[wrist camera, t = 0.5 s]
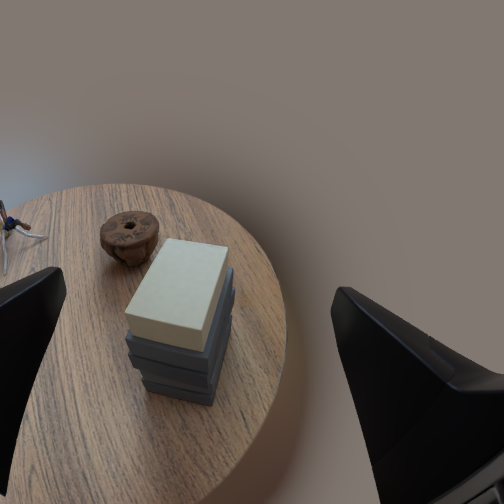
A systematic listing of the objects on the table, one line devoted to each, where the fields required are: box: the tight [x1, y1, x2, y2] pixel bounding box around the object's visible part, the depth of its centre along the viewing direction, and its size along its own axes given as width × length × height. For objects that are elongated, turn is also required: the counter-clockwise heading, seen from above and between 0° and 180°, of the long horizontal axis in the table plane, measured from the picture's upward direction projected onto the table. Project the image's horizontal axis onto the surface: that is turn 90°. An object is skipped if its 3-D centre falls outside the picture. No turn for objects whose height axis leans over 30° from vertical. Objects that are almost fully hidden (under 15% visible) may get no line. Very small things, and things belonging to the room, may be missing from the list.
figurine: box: [0, 200, 47, 275], centre depth 35 cm, size 10×9×20 cm
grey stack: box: [125, 268, 235, 406], centre depth 24 cm, size 9×6×8 cm
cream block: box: [125, 238, 229, 352], centre depth 20 cm, size 8×5×2 cm, turn 172°
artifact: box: [100, 211, 159, 266], centre depth 35 cm, size 8×8×5 cm
